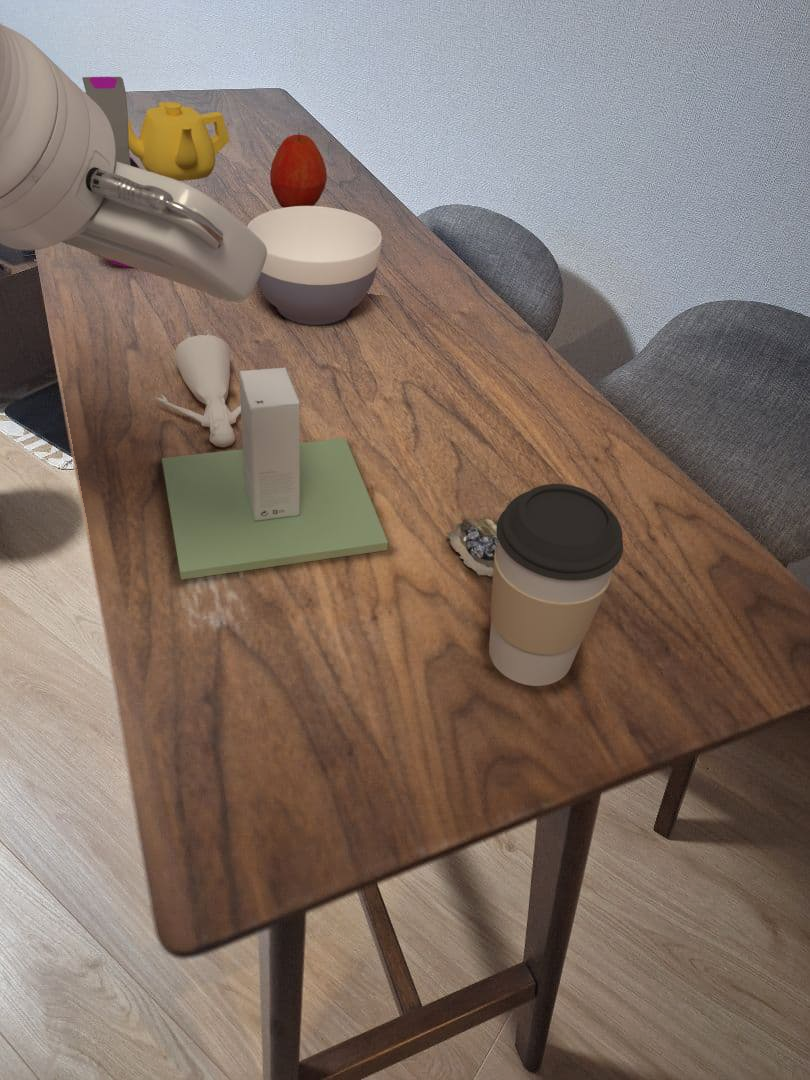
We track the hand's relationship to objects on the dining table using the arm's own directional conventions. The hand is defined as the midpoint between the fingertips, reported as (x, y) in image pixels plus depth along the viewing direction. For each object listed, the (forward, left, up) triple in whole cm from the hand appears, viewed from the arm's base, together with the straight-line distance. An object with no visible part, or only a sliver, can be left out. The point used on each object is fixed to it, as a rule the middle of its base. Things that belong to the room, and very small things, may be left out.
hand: (167, 267), depth 59 cm
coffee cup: (+24, -15, -28) cm, 40 cm away
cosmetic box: (+7, +7, -27) cm, 28 cm away
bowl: (+19, +44, -28) cm, 56 cm away
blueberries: (+25, -3, -28) cm, 38 cm away
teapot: (+7, +90, -28) cm, 95 cm away
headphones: (-2, +67, -28) cm, 73 cm away
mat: (+7, +7, -27) cm, 29 cm away
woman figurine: (+4, +25, -28) cm, 38 cm away
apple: (+24, +75, -28) cm, 83 cm away
